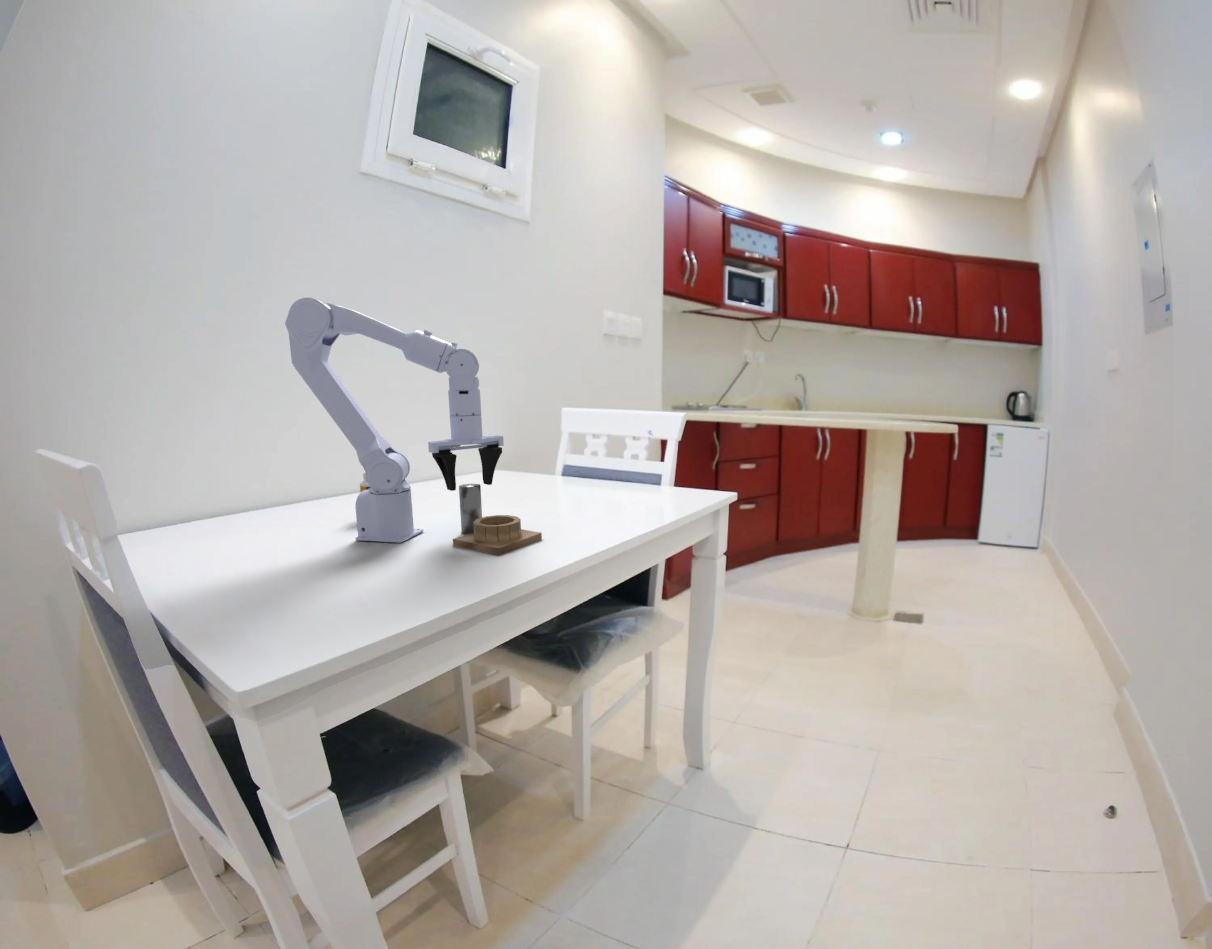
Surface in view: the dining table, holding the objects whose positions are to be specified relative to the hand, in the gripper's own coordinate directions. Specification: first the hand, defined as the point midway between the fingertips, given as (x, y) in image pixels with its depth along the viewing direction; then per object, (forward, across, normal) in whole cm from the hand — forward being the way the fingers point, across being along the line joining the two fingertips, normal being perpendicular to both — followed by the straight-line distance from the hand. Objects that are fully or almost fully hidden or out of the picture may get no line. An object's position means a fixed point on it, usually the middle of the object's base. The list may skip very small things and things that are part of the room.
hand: (470, 486), depth 106 cm
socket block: (+9, 0, -10) cm, 13 cm away
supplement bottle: (+9, -10, +24) cm, 27 cm away
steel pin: (+9, 0, 0) cm, 9 cm away
